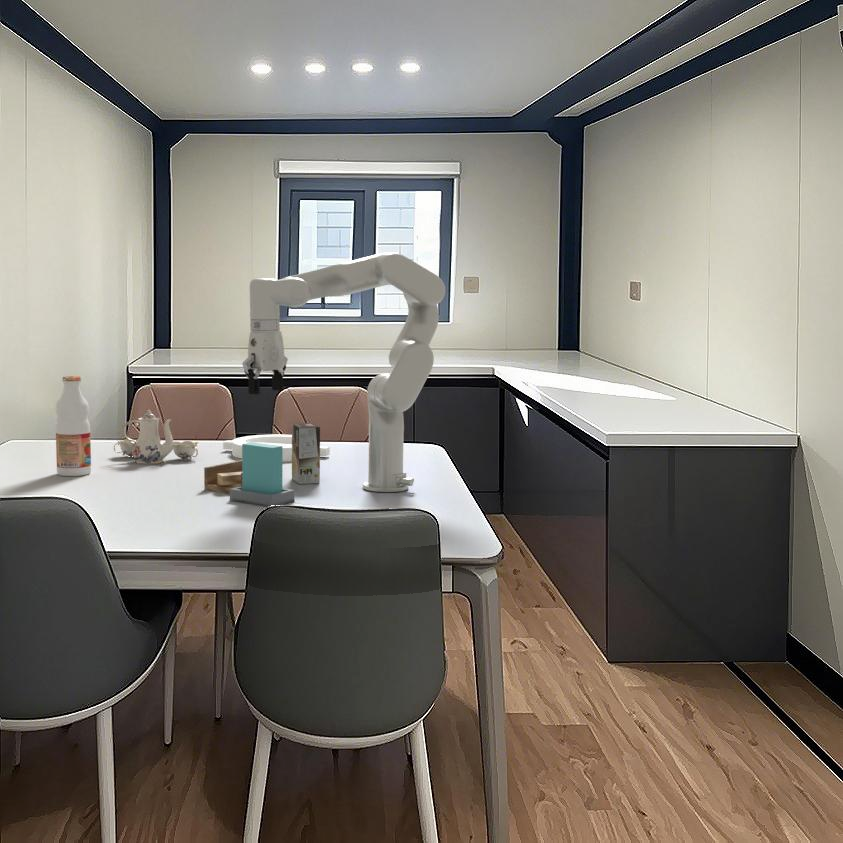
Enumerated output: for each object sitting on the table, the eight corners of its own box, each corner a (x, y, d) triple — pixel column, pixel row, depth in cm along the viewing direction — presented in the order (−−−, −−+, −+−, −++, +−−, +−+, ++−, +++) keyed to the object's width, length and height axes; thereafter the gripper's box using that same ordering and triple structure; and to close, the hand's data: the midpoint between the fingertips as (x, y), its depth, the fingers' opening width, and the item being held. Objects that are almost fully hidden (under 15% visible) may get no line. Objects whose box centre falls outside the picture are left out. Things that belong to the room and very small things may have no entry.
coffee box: (320, 483, 298) (321, 426, 295) (298, 484, 295) (298, 427, 293) (312, 477, 306) (312, 422, 304) (290, 478, 304) (290, 423, 302)
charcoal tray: (294, 501, 273) (294, 490, 273) (271, 507, 266) (271, 495, 265) (253, 494, 280) (253, 483, 280) (229, 500, 273) (229, 489, 272)
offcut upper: (242, 480, 289) (242, 471, 289) (247, 483, 286) (247, 474, 285) (217, 482, 285) (217, 473, 285) (222, 485, 282) (222, 476, 282)
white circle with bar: (333, 459, 340) (333, 444, 339) (250, 465, 326) (250, 450, 325) (298, 446, 364) (298, 432, 363) (220, 451, 350) (220, 437, 349)
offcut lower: (248, 491, 287) (248, 482, 286) (241, 494, 283) (241, 485, 283) (225, 489, 289) (225, 480, 289) (218, 492, 285) (218, 483, 285)
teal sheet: (282, 499, 272) (282, 445, 270) (272, 502, 269) (272, 447, 267) (252, 494, 277) (252, 442, 275) (242, 497, 274) (242, 443, 272)
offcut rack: (280, 486, 291) (280, 465, 291) (243, 495, 279) (243, 473, 278) (241, 481, 299) (241, 460, 298) (204, 489, 286) (204, 467, 285)
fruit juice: (53, 472, 306) (50, 375, 302) (85, 469, 311) (83, 374, 308) (61, 478, 298) (59, 378, 295) (95, 475, 304) (93, 377, 300)
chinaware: (204, 462, 337) (205, 410, 336) (189, 466, 320) (191, 411, 320) (118, 459, 339) (119, 407, 338) (99, 463, 322) (100, 408, 322)
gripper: (255, 328, 265) (256, 396, 267) (296, 325, 280) (297, 390, 282) (231, 327, 269) (233, 394, 271) (274, 324, 284) (275, 388, 286)
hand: (266, 392), depth 277 cm, fingers open, 9 cm apart
